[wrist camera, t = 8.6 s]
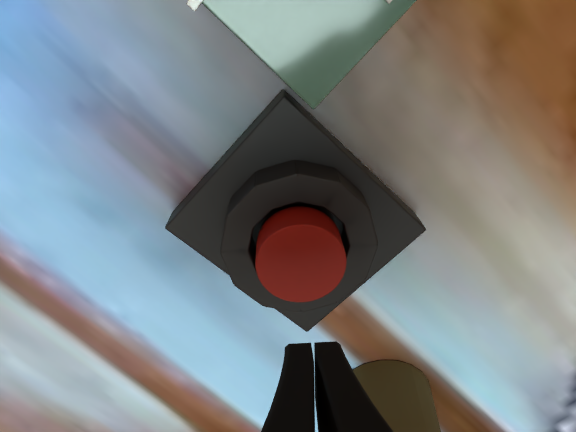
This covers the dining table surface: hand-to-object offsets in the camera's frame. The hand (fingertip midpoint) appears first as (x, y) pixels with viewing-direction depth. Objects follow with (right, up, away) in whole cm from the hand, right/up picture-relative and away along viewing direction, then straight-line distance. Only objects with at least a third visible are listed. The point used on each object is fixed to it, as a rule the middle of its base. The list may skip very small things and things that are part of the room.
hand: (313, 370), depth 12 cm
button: (0, +3, +7) cm, 7 cm away
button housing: (0, +4, +9) cm, 10 cm away
